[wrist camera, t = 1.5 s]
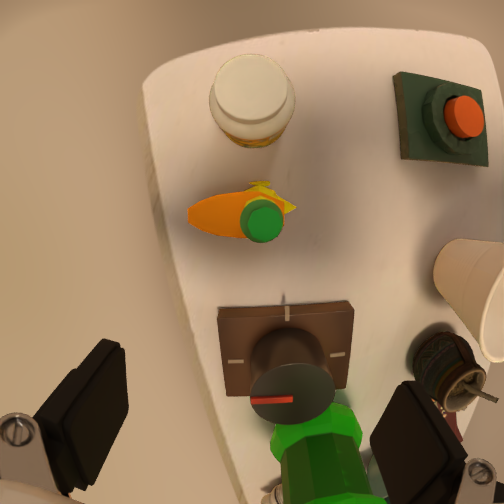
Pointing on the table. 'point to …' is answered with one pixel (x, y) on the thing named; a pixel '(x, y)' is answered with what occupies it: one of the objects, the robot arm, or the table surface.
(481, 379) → the yerba mate gourd
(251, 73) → the supplement bottle
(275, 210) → the toy figure
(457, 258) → the cup
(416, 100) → the button box
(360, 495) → the plastic bottle
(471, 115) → the button
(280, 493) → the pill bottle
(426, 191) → the table surface
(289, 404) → the dial knob
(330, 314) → the brown dial base plate
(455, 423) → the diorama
